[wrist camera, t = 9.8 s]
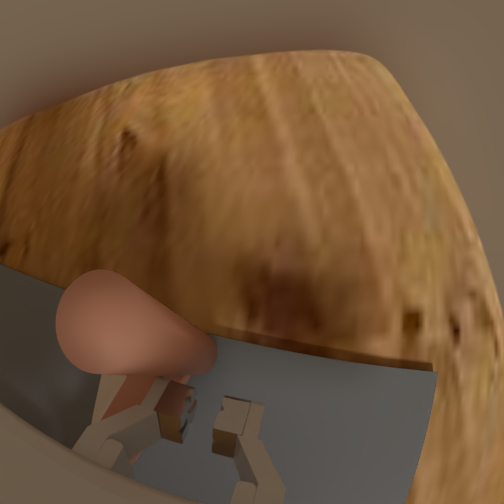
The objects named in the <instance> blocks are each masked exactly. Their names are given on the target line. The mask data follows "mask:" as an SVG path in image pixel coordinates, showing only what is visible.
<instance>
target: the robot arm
mask: <svg viewBox="0 0 504 504" xmlns="http://www.w3.org/2000/svg"><path fill="white" fill-rule="evenodd" d="M196 395H197V388H194V387H191V386H188V385H185V384H182V383H179V382H175V381H172V380H169V379H166V378H163V377H160V376H159V377H158V378H156V380H155V381H154V383H153V385H152V386H151V388H150V390H149V391H148V393H147V395H146V396H145V398H144V399H143V401H142V403H141V404H140V406H139V405H134V406H132V407H130V408H128V409H126V410H123V411H121V412H119V413H117V414H115V415H112V416H110V417H108V418H106V419H103V420H101V421H99V422H97V423H94V424H92V425H90V426H88V427H87V428H86V429H85V431H84V432H83V434H82V435H81V437H80V438H79V440H78V441H77V443H76V444H75V445H74V447H73V448H72V450H71V449H69V448H68V447H66V446H64V445H62V444H61V443H59V442H57V441H56V440H54V439H52V438H51V437H49V436H47V435H46V434H44V433H43V432H41V431H40V430H38V429H37V428H35V427H33V426H32V425H31V424H29V423H28V422H26V421H25V420H23V419H22V418H20V417H19V416H18V415H16V414H15V413H13V412H12V411H11V410H9V409H8V408H7V407H5V406H4V405H3V404H1V403H0V504H204V503H200V502H197V501H193V500H190V499H187V498H183V497H180V496H177V495H174V494H171V493H168V492H165V491H162V490H159V489H157V488H154V487H151V486H149V485H146V484H143V483H141V482H138V481H136V480H133V479H132V478H133V476H134V472H133V469H132V467H131V465H130V462H129V460H130V459H131V458H133V457H134V456H136V455H138V454H139V453H141V452H142V451H144V450H146V449H147V448H149V447H150V446H152V445H153V444H155V443H156V442H158V441H160V440H161V439H162V438H163V439H167V440H170V441H173V442H177V443H180V444H183V442H184V440H185V438H186V436H187V433H188V425H189V424H191V423H192V422H193V419H194V417H195V413H196V409H197V400H196V399H195V398H196ZM264 409H265V404H264V403H259V402H254V401H252V402H251V401H250V400H246V399H241V398H236V397H232V396H227V395H225V396H224V398H223V401H222V404H221V412H219V413H218V415H217V418H216V420H215V423H214V426H213V433H212V438H213V442H212V453H215V454H218V455H222V456H226V457H229V458H233V460H234V463H235V466H236V469H237V471H238V474H239V477H240V480H241V481H239V482H237V483H236V486H235V489H234V492H233V496H232V499H231V502H230V504H283V502H284V497H285V491H286V487H285V485H284V484H283V482H282V480H281V478H280V476H279V474H278V472H277V470H276V468H275V466H274V464H273V462H272V460H271V458H270V456H269V454H268V452H267V450H266V448H265V446H264V444H263V442H262V440H260V439H258V436H259V431H260V427H261V423H262V418H263V414H264Z"/></svg>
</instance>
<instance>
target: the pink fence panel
mask: <svg viewBox="0 0 504 504" xmlns="http://www.w3.org/2000/svg"><path fill="white" fill-rule="evenodd" d="M56 334H57V338H58V342H59V345H60V347H61V349H62V351H63V353H64V354H65V356H66V357H67V358H68V360H69V361H70V362H71V363H72V364H73V365H75V366H76V367H77V368H79V369H81V370H83V371H85V372H88V373H93V374H108V375H128V377H127V378H126V380H125V381H124V383H123V385H122V386H121V388H120V389H119V391H118V392H117V394H116V396H115V397H114V399H113V401H112V402H111V404H110V405H109V407H108V409H107V410H106V412H105V413H104V415H103V417H102V418H101V420H103V419H106V418H108V417H110V416H112V415H115V414H117V413H119V412H121V411H123V410H126V409H128V408H130V407H132V406H134V405H139V406H140V404H141V403H142V401H143V399H144V398H145V396H146V395H147V393H148V391H149V390H150V388H151V386H152V385H153V383H154V381H155V380H156V378H158V377H159V376H160V377H163V378H166V379H169V380H172V381H175V382H179V383H182V384H186V383H187V381H188V380H189V378H190V377H191V375H201V374H204V373H206V372H208V371H209V370H210V369H211V368H212V367H213V366H214V364H215V362H216V359H217V347H216V344H215V342H214V340H213V339H212V338H211V337H210V336H209V335H208V334H206V333H205V332H203V331H202V330H200V329H199V328H197V327H195V326H194V325H192V324H191V323H189V322H188V321H186V320H185V319H183V318H182V317H180V316H179V315H177V314H176V313H174V312H173V311H172V310H170V309H169V308H167V307H166V306H164V305H163V304H161V303H160V302H159V301H157V300H156V299H154V298H153V297H151V296H150V295H149V294H147V293H146V292H144V291H143V290H142V289H140V288H139V287H137V286H136V285H135V284H133V283H132V282H131V281H129V280H128V279H127V278H125V277H124V276H122V275H121V274H119V273H117V272H114V271H111V270H105V269H97V270H92V271H89V272H86V273H84V274H82V275H81V276H79V277H78V278H76V279H75V280H74V281H73V282H72V283H71V284H70V285H69V286H68V287H67V289H66V290H65V292H64V294H63V295H62V297H61V300H60V302H59V305H58V308H57V313H56ZM101 420H100V421H101ZM140 454H141V453H139V454H138V455H136V456H134V457H133V458H131V459H130V460H129V462H130V465H132V464H133V462H134V461H136V460H137V458H138V457H139V455H140Z"/></svg>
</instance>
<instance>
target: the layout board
mask: <svg viewBox="0 0 504 504" xmlns="http://www.w3.org/2000/svg"><path fill="white" fill-rule="evenodd" d="M64 292H65V289H62V288H60V287H57V286H54V285H51V284H49V283H46V282H44V281H41V280H38V279H36V278H33V277H31V276H28V275H26V274H23V273H21V272H19V271H16V270H14V269H11V268H9V267H7V266H4V265H2V264H0V403H1V404H3V405H4V406H5V407H7V408H8V409H9V410H11V411H12V412H13V413H15V414H16V415H18V416H19V417H20V418H22V419H23V420H25V421H26V422H28V423H29V424H31V425H32V426H33V427H35V428H37V429H38V430H40V431H41V432H43V433H44V434H46V435H47V436H49V437H51V438H52V439H54V440H56V441H57V442H59V443H61V444H62V445H64V446H66V447H68V448H69V449H71V450H72V448H73V447H74V445H75V444H76V443H77V441H78V440H79V438H80V437H81V435H82V434H83V432H84V431H85V429H86V428H87V427H88V426H90V425H92V424H94V423H97V422H99V421H100V420H101V418H102V417H103V415H104V413H105V412H106V410H107V409H108V407H109V405H110V404H111V402H112V401H113V399H114V397H115V396H116V394H117V392H118V391H119V389H120V388H121V386H122V385H123V383H124V381H125V380H126V378H127V377H128V375H108V374H93V373H88V372H85V371H83V370H81V369H79V368H77V367H76V366H75V365H73V364H72V363H71V362H70V361H69V360H68V358H67V357H66V356H65V354H64V353H63V351H62V349H61V347H60V345H59V342H58V338H57V334H56V313H57V308H58V305H59V302H60V300H61V297H62V295H63V294H64ZM206 334H208V335H209V336H210V337H211V338H212V339H213V340H214V342H215V344H216V347H217V359H216V362H215V364H214V366H213V367H212V368H211V369H210V370H209V371H208V372H206V373H204V374H201V375H191V377H190V378H189V380H188V381H187V383H186V384H185V385H188V386H191V387H194V388H197V395H196V398H195V399H196V400H197V409H196V413H195V417H194V419H193V422H192V423H191V424H189V425H188V433H187V436H186V438H185V440H184V442H183V444H180V443H177V442H173V441H170V440H167V439H163V438H162V439H161V440H160V441H158V442H156V443H155V444H153V445H152V446H150V447H149V448H147V449H146V450H144V451H142V452H141V454H140V455H139V457H138V458H137V460H136V461H134V462H133V464H132V465H131V467H132V469H133V472H134V476H133V478H132V479H133V480H136V481H138V482H141V483H143V484H146V485H149V486H151V487H154V488H157V489H159V490H162V491H165V492H168V493H171V494H174V495H177V496H180V497H183V498H187V499H190V500H193V501H197V502H200V503H204V504H230V502H231V499H232V496H233V492H234V489H235V486H236V483H237V482H239V481H241V480H240V477H239V474H238V471H237V469H236V466H235V463H234V460H233V458H229V457H226V456H222V455H218V454H215V453H212V442H213V438H212V433H213V426H214V423H215V420H216V418H217V415H218V413H219V412H221V404H222V401H223V398H224V396H225V395H227V396H232V397H236V398H241V399H246V400H250V401H251V402H252V401H254V402H259V403H264V404H265V409H264V414H263V418H262V423H261V427H260V431H259V436H258V439H260V440H262V442H263V444H264V446H265V448H266V450H267V452H268V454H269V456H270V458H271V460H272V462H273V464H274V466H275V468H276V470H277V472H278V474H279V476H280V478H281V480H282V482H283V484H284V485H285V487H286V491H285V497H284V502H283V504H404V503H405V501H406V498H407V495H408V492H409V489H410V487H411V484H412V481H413V477H414V474H415V471H416V468H417V465H418V461H419V458H420V454H421V450H422V447H423V443H424V439H425V435H426V431H427V427H428V422H429V418H430V413H431V408H432V403H433V398H434V392H435V387H436V381H437V374H438V372H432V371H421V370H411V369H402V368H393V367H385V366H377V365H369V364H362V363H355V362H349V361H342V360H336V359H330V358H324V357H318V356H312V355H307V354H301V353H296V352H291V351H285V350H280V349H275V348H271V347H266V346H261V345H256V344H252V343H247V342H243V341H238V340H234V339H230V338H226V337H221V336H217V335H213V334H209V333H206Z"/></svg>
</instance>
